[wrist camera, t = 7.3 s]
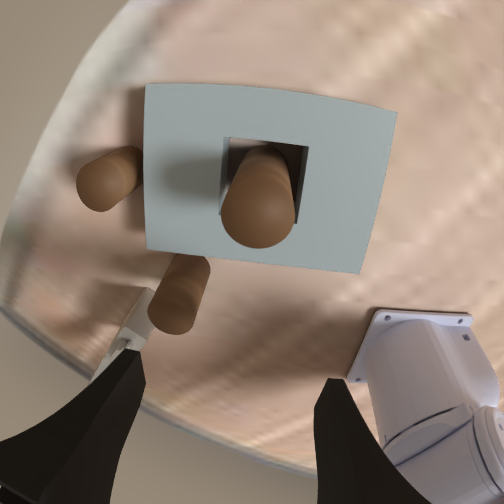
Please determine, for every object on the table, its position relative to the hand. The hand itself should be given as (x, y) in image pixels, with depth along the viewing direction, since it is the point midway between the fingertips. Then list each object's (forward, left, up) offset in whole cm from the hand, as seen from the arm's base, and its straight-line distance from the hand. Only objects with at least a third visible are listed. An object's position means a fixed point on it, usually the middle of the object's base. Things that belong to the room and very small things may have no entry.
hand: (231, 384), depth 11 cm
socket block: (0, -6, -10) cm, 11 cm away
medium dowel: (+4, +1, -10) cm, 11 cm away
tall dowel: (0, -6, -10) cm, 11 cm away
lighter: (+8, +7, -10) cm, 15 cm away
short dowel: (+8, -5, -10) cm, 14 cm away
